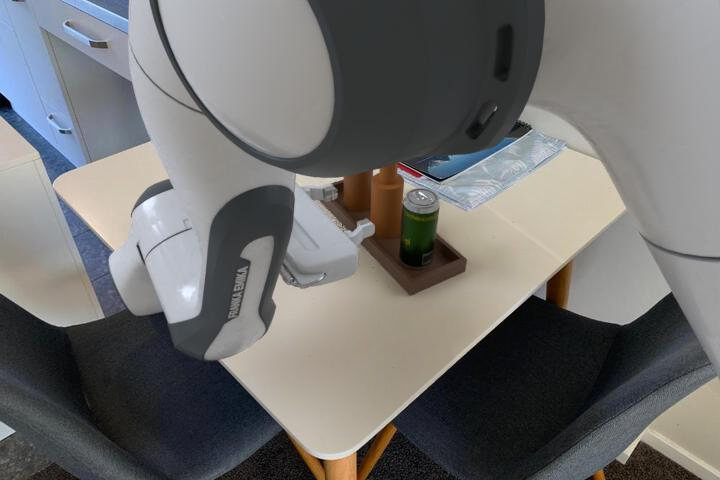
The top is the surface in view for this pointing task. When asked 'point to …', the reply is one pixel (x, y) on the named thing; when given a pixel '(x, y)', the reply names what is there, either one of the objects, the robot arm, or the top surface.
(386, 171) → the amber bottle mid
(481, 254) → the top surface
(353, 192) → the amber bottle far
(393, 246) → the tray
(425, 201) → the beer can
